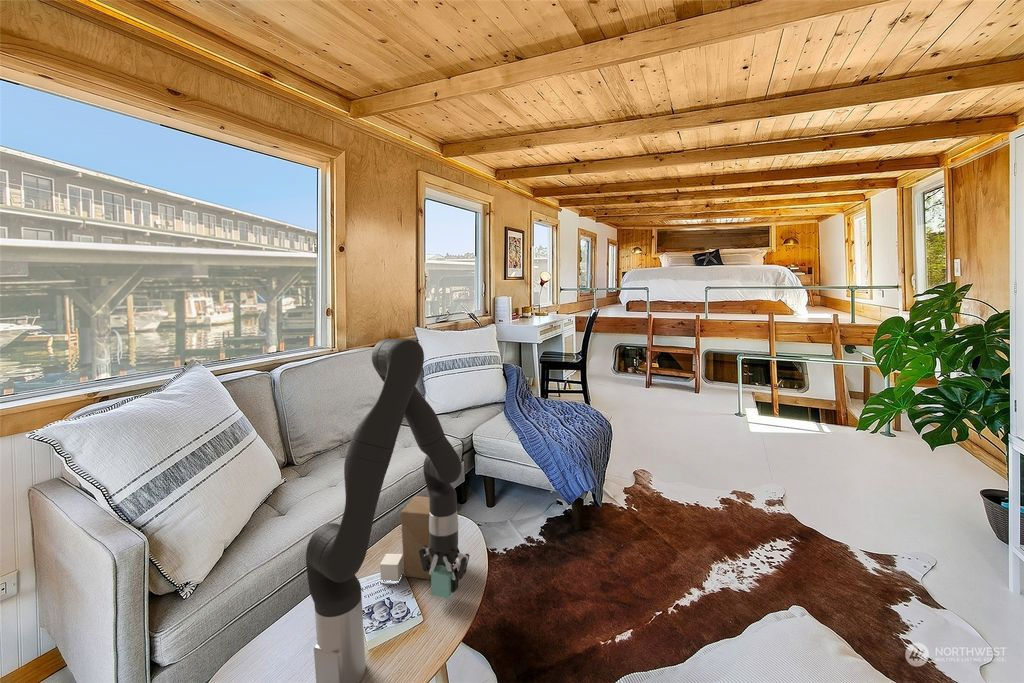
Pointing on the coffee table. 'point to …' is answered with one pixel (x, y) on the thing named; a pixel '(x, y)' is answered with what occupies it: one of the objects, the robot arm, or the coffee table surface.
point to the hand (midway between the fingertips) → (444, 588)
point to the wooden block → (415, 536)
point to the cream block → (392, 567)
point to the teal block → (441, 582)
